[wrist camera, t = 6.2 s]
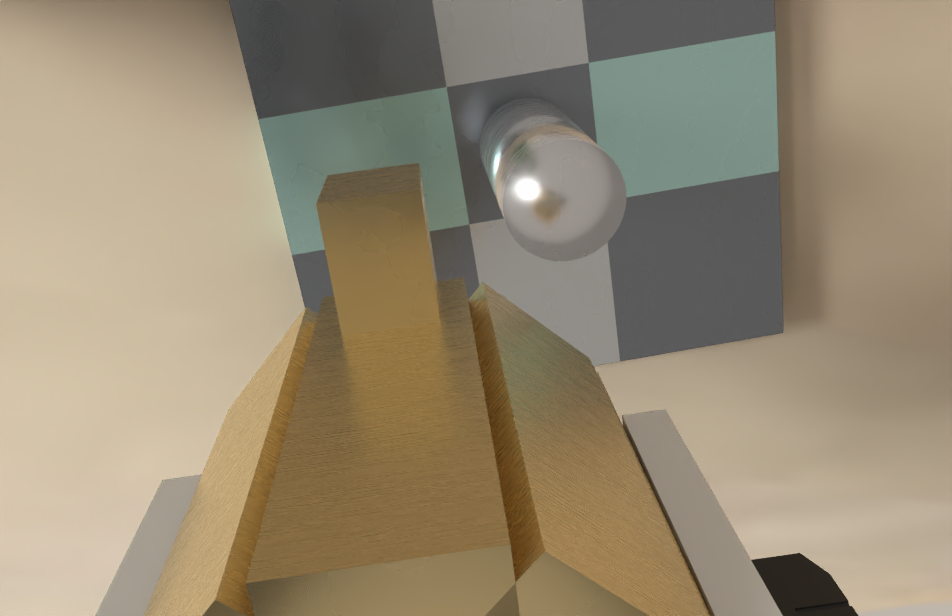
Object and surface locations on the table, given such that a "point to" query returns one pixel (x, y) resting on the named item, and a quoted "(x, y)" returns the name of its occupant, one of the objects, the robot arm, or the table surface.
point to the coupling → (420, 455)
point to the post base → (657, 236)
